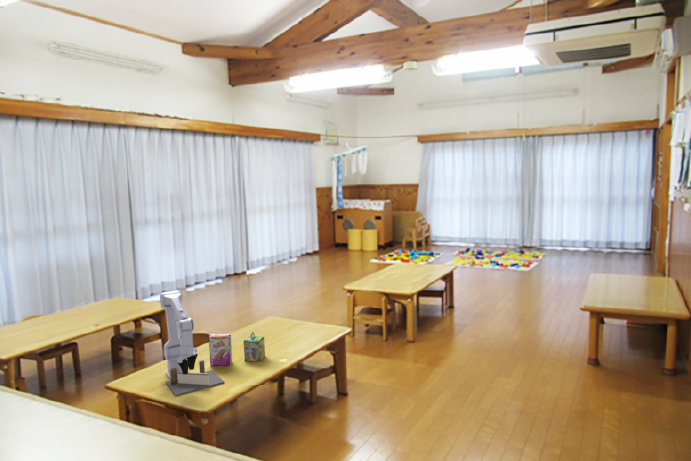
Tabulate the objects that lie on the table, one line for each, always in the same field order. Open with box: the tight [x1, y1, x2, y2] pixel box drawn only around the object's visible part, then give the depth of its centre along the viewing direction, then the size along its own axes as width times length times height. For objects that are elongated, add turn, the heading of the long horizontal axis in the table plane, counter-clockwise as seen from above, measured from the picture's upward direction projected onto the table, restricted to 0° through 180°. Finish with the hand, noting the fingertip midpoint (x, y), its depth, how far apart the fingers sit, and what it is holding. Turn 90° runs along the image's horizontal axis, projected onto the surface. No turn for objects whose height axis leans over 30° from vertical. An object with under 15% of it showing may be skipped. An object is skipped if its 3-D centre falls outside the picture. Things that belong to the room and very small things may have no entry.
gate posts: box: [170, 359, 206, 385], centre depth 238 cm, size 3×17×8 cm, turn 133°
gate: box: [177, 371, 209, 385], centre depth 231 cm, size 16×1×5 cm, turn 79°
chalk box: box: [243, 331, 266, 362], centre depth 265 cm, size 9×9×15 cm
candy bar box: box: [208, 333, 233, 367], centre depth 258 cm, size 11×5×16 cm, turn 92°
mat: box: [165, 369, 225, 397], centre depth 235 cm, size 18×24×1 cm
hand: (188, 371), depth 226 cm, fingers open, 5 cm apart
